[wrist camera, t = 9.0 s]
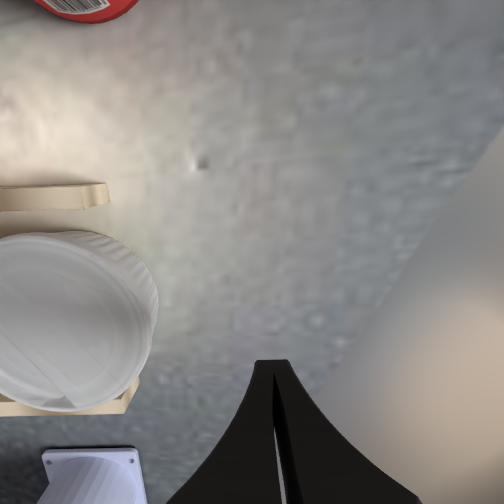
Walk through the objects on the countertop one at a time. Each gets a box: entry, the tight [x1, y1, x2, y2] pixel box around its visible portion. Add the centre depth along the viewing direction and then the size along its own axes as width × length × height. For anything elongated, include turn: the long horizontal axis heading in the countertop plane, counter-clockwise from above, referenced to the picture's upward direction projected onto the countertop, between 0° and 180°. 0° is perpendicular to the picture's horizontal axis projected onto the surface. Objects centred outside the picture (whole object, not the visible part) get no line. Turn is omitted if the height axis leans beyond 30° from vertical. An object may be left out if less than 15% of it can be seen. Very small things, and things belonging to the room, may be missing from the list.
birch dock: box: [0, 183, 140, 416], centre depth 20 cm, size 10×15×3 cm, turn 2°
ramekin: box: [0, 231, 159, 412], centre depth 19 cm, size 11×11×5 cm
